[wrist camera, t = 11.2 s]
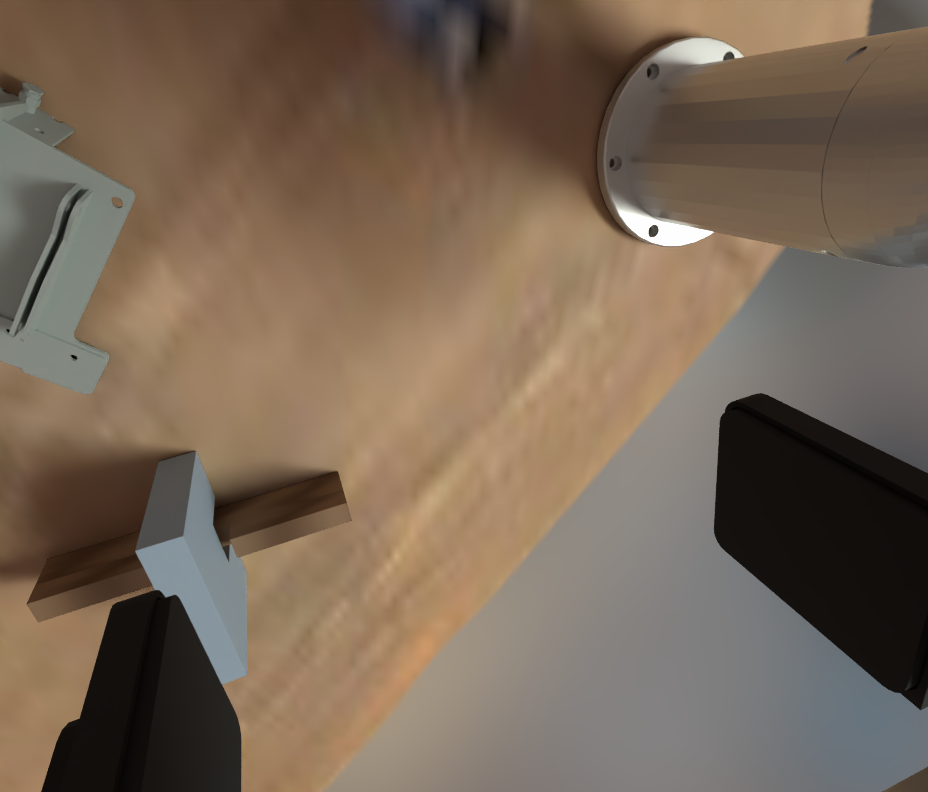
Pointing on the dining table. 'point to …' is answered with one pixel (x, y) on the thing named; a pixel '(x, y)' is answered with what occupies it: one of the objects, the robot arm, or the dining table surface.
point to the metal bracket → (50, 244)
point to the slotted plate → (196, 562)
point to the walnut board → (239, 524)
